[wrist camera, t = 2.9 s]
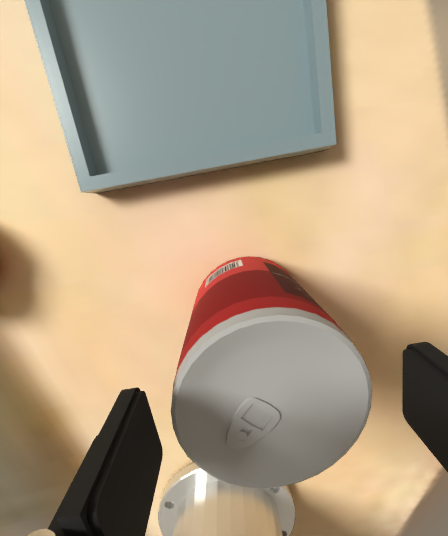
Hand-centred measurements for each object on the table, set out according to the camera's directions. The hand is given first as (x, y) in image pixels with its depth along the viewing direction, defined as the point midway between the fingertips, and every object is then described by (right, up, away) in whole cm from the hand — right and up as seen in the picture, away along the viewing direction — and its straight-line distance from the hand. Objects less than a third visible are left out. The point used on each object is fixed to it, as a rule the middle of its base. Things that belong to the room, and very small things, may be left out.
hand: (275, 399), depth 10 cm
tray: (-4, +19, +7) cm, 21 cm away
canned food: (0, +2, +11) cm, 12 cm away
